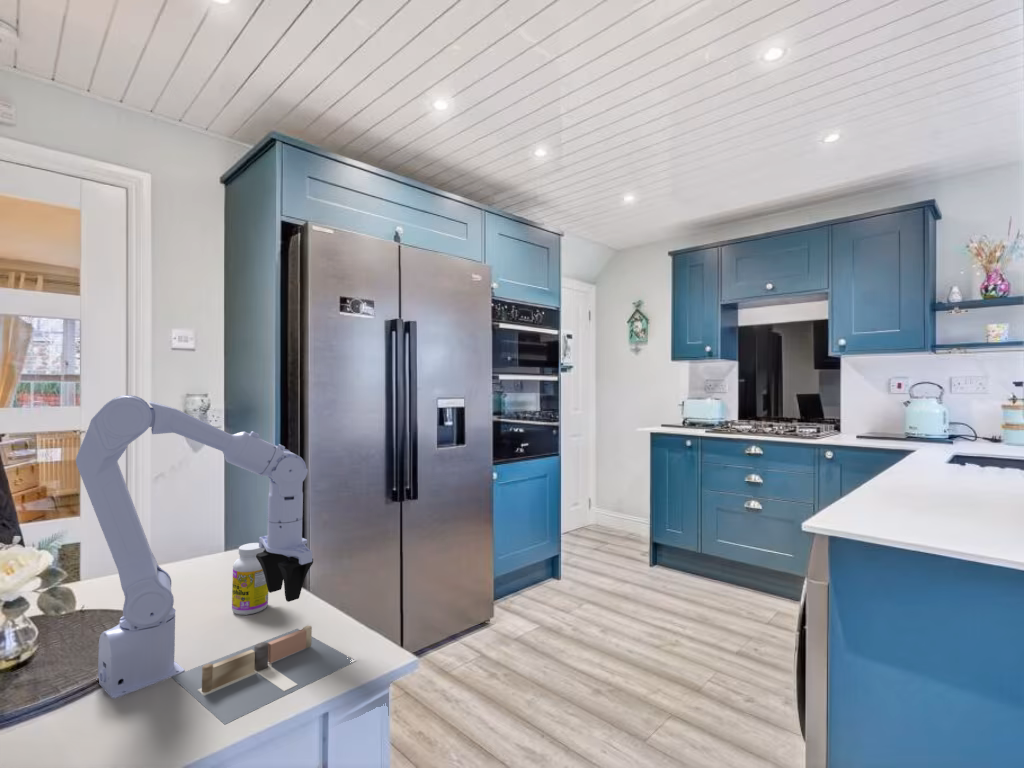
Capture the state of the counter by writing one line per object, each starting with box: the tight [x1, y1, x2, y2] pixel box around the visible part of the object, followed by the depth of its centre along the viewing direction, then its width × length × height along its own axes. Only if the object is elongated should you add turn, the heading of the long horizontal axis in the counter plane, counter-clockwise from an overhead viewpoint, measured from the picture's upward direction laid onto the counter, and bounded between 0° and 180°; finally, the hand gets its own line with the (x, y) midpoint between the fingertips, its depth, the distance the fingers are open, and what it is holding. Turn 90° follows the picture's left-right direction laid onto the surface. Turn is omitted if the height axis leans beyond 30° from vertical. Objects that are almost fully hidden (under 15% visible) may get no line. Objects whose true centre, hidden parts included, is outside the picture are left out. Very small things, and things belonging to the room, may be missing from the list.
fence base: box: [202, 641, 268, 692], centre depth 81 cm, size 10×2×4 cm, turn 143°
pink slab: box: [268, 625, 313, 663], centre depth 88 cm, size 8×1×3 cm, turn 143°
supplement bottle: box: [231, 542, 269, 616], centre depth 107 cm, size 7×7×13 cm
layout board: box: [171, 628, 355, 725], centre depth 84 cm, size 21×18×1 cm
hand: (283, 595), depth 94 cm, fingers open, 5 cm apart
